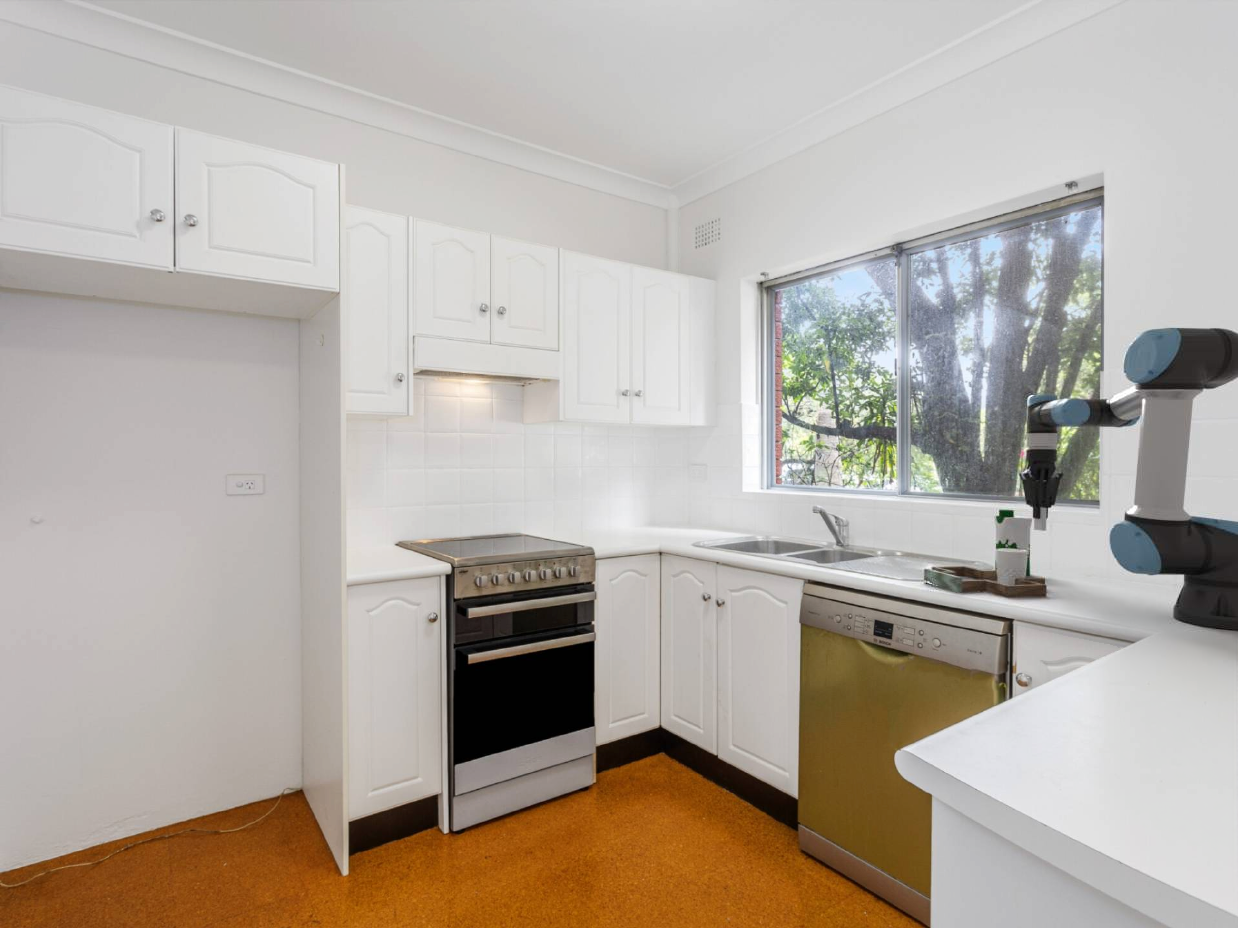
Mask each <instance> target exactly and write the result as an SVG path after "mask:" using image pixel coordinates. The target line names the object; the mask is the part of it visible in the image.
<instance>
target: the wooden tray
mask: <svg viewBox="0 0 1238 928" xmlns="http://www.w3.org/2000/svg"><path fill="white" fill-rule="evenodd" d="M923 575H924V576H923V581H924V580H926V581H929V582H930V583H932V584H934V585H937V586H936V587H938V588H941V587H942V589H945V590H949V591H951V590H952V592H955V593H978V592H979V593H982V592H985V593H986V592H987V593H990V594H993V595H997V596H1001V597H1004V598H1009V599H1012V598H1014V599H1016V598H1037V597H1040V598H1041V597H1047V584H1046V578H1045V577H1027V578H1026V577H1025V578H1019V579H1015V585H1006V584H1002V583H998V582H997V576H998V575H997V570H995V569H991V570H989V569H987V570H984V569H979V568H975V567H971V566H966V565H956V566H955V565H951V566H949V565H948V566H932V567H931V568H924V569H923ZM934 585H933V586H934Z"/></svg>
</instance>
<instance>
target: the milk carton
mask: <svg viewBox="0 0 1238 928" xmlns="http://www.w3.org/2000/svg"><path fill="white" fill-rule="evenodd" d="M998 514H999V515H993V518H994V526H995V550H996V549H999V548H1009V549H1020V550H1026V551H1028V553H1027V569H1026V577H1028V576H1029V577H1030V576H1031V559H1030V558H1031V527H1032V521H1033V517H1026V516H1022V515H1021V516H1019V515H1015V512H1014V510H1013V509H999V510H998ZM994 563H995V564H994V565H995V566H994V570H997V568H996V559H995V561H994Z"/></svg>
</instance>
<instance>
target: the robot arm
mask: <svg viewBox="0 0 1238 928" xmlns="http://www.w3.org/2000/svg"><path fill="white" fill-rule="evenodd" d="M1122 370H1123V373H1124V374H1125V377H1126V379H1127V380H1128V381H1130V382H1131V383H1134V385H1133V386H1131V387H1129V388H1128V389H1125V390H1124V391H1121V392H1120V393H1117V394H1115V395H1113V396H1111V397H1109V398H1091V399H1090V398H1077V397H1065V398H1061V399H1059V398H1058V395H1056V394H1052V393H1051V394H1048V393H1047V394H1045V393H1044V394H1042V393H1041V394H1032V395H1030V396H1028V398H1027V405H1026V406H1027V407H1026V443H1025V444H1026V447H1027V448H1028V449H1026V450H1025V460H1026V462H1027V466H1026V470H1024V471H1023V472H1022V471H1021V472H1019V473H1018V476H1019V478H1020V479H1021V483H1022V488H1023V493H1024V498H1025V502H1026V505H1027V506H1029V507H1031V508H1032V519H1033V520H1034V523H1033V524H1034V525H1033V528H1034V529H1033V530H1035V531H1041V532H1042V531H1047V519H1048V517H1049V509H1051V508H1052V506H1054V505H1055V504H1056V501H1057V497H1058V496H1057V495H1058V492H1059V487H1060V483H1061V482H1060V481H1061V480H1062V478H1063V476H1064V473H1063V472H1060V471H1057V467H1056V464H1055V463H1056V462H1057V461H1058V452H1057V451H1058V450H1057V449H1055V448H1057V447H1058V428H1062V427H1063V428H1064V427H1066V428H1069V427H1070V428H1072V427H1073V428H1074V427H1076V428H1077V427H1081V428H1082V427H1089V428H1090V427H1091V428H1092V427H1094V428H1096V427H1099V428H1102V427H1103V428H1124V427H1132V426H1134V425H1136V424H1137V422H1138V421H1139V420H1140V427H1139V441H1138V449H1137V450H1138V451H1137V452H1138V453H1137V464H1136V477H1135V489H1134V499H1133V501H1134V502H1133V505H1132V506H1131V507H1130V508H1129V507H1128V509H1127V510H1125V511H1124V520H1121V521H1119V522H1117V523H1115V524H1114V525H1113V527H1112V528H1111V530H1110V531H1109V546H1110V550H1111V553H1112V555H1113V557H1114V559H1115V560H1116V562H1117V563H1118V564H1119V566H1121V568H1122V569H1124V570H1126V571H1127V572H1130V573H1132V574H1136V575H1137V574H1138V575H1147V576H1156V575H1159V576H1160V575H1162V576H1163V575H1169V576H1171V575H1173V576H1174V575H1177V576H1178V575H1179V576H1183V584H1182V588H1181V590H1180V592H1179V594H1178V597H1177V598H1176V601H1175V604H1174V605H1173V609H1172V610H1173V615H1172V616H1173V618H1174V619H1176V620H1178V621H1182V622H1184V623H1188V624H1193V625H1198V626H1204V627H1208V628H1217V629H1222V630H1223V629H1225V630H1233V631H1236V630H1237V631H1238V521H1235V520H1227V519H1219V518H1211V517H1204V516H1194V515H1190V514H1189V513H1187V511H1185V509H1184V506H1185V504H1184V503H1185V494H1186V493H1185V492H1186V485H1187V484H1186V481H1187V472H1188V460H1189V448H1190V439H1191V438H1190V437H1191V426H1192V425H1191V424H1192V414H1193V404H1194V399H1195V398H1196V397H1197V396H1198V395H1200V394H1201V393H1202V392H1204V390H1214V389H1217V388H1219V387H1222V386H1223V385H1226V384H1228V383H1230V382H1232V381H1235V380H1236V379H1237V378H1238V332H1236V331H1233V330H1231V329H1227V328H1221V327H1210V328H1204V327H1203V328H1200V327H1199V328H1197V327H1165V328H1152V329H1148V330H1145V331H1144V332H1142V333H1139V334H1138V335H1137V336H1136V337H1135V338H1134V339H1133V341H1132V342H1130V343H1129V346H1127V350H1126V351H1125V354H1124V357H1123V363H1122Z"/></svg>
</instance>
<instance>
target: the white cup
mask: <svg viewBox="0 0 1238 928" xmlns="http://www.w3.org/2000/svg"><path fill="white" fill-rule="evenodd" d="M1027 553H1028V551H1026V550H1020V549H1009V548H999V549H996V548H995V560H996V568H997V575H998V576H997V581H996V582H998V583H1002V584H1006V585H1015V579H1019V578H1026V577H1027V576H1026V569H1027Z"/></svg>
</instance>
